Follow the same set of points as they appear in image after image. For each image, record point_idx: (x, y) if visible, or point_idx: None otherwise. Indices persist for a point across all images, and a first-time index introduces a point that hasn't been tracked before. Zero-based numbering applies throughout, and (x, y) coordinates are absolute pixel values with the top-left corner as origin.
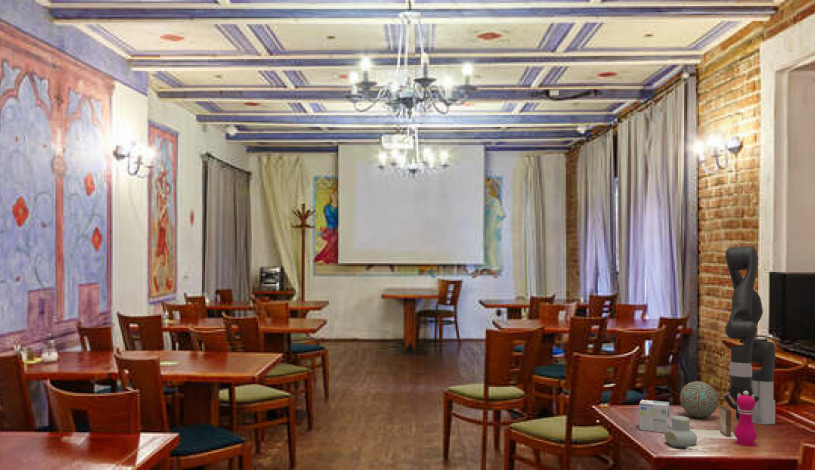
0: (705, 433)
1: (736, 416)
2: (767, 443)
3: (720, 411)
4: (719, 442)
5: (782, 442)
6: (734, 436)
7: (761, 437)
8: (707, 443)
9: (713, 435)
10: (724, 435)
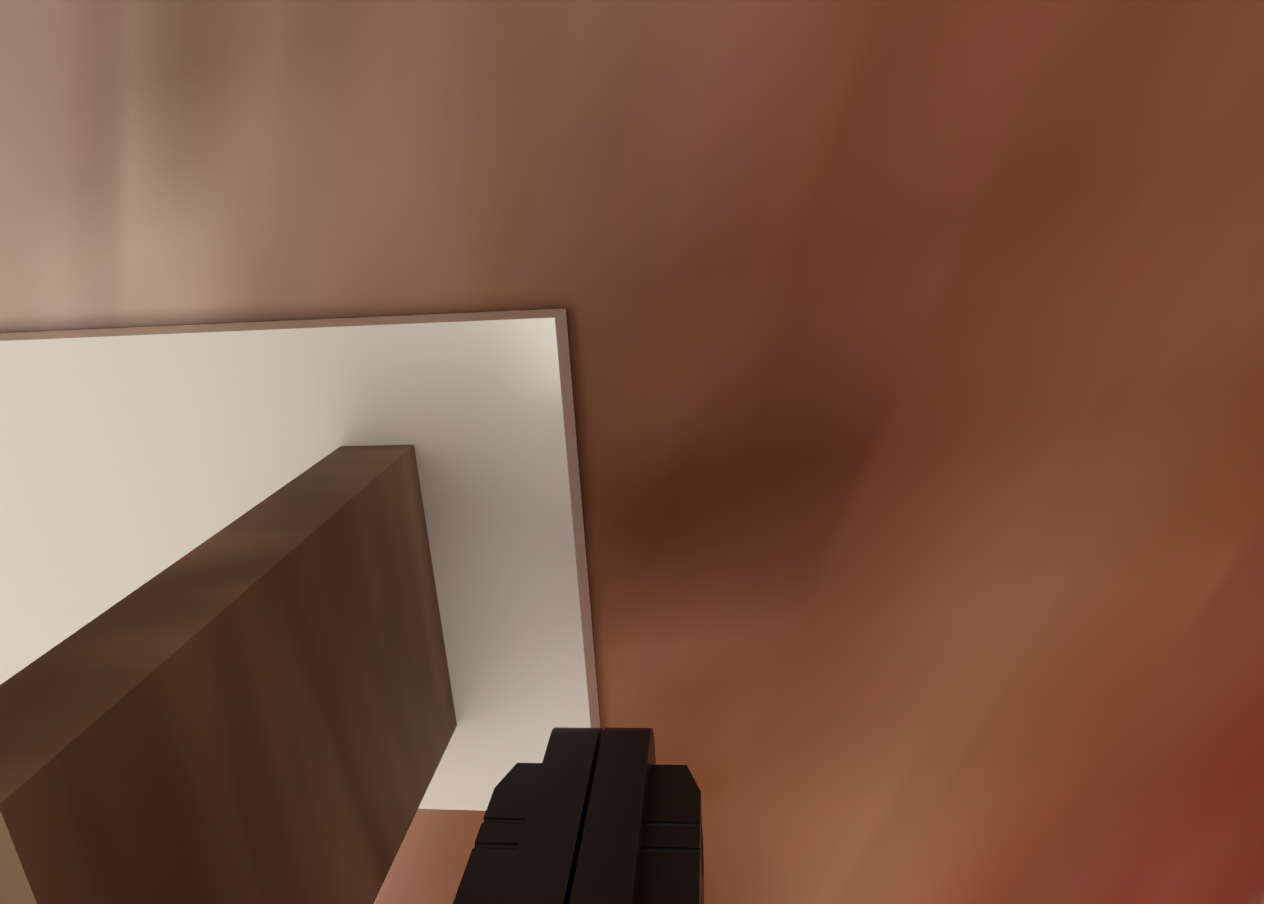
0: (105, 581)
1: (496, 827)
2: (964, 776)
3: (42, 675)
4: None
5: (1256, 698)
6: (519, 691)
7: (1051, 444)
8: None
9: None
10: None
